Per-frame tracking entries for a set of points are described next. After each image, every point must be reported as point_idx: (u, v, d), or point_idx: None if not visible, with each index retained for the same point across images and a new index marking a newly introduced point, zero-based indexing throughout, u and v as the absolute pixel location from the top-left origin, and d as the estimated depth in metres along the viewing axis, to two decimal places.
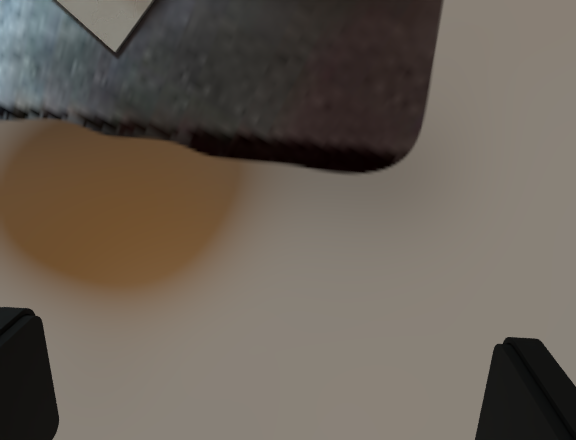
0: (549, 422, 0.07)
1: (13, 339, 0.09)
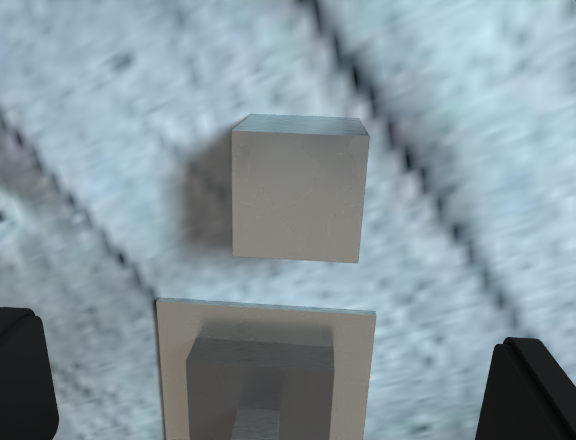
0: (549, 422, 0.07)
1: (13, 339, 0.09)
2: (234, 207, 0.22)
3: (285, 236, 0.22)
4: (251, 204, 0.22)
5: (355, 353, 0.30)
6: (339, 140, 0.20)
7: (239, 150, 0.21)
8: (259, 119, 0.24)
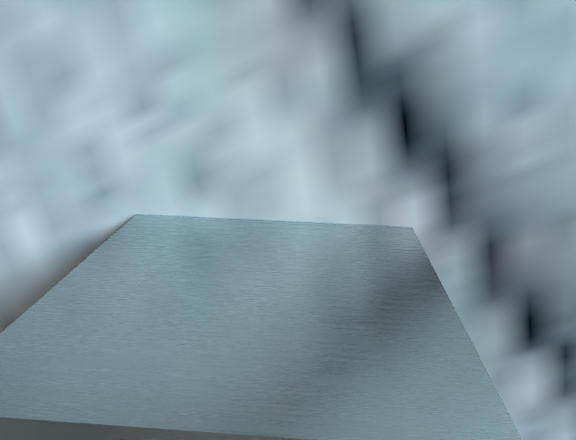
0: None
1: None
2: None
3: None
4: None
5: None
6: None
7: None
8: (131, 256, 0.08)
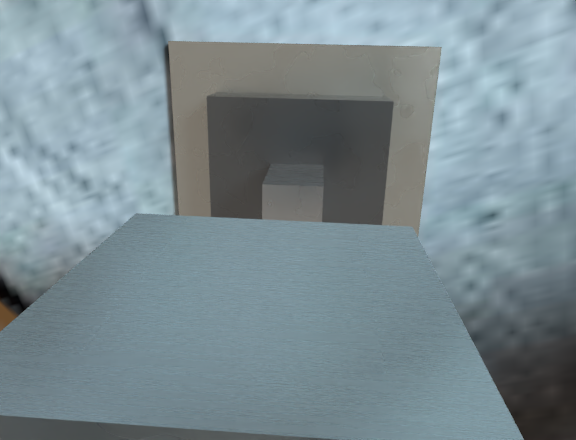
0: None
1: None
2: None
3: None
4: None
5: (413, 104, 0.25)
6: None
7: None
8: (131, 255, 0.08)
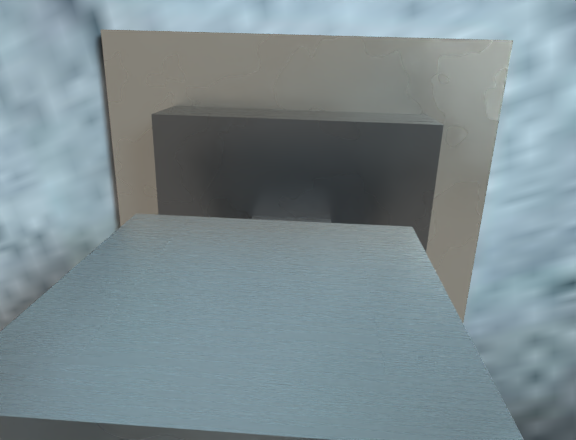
0: None
1: None
2: None
3: None
4: None
5: (466, 126, 0.17)
6: None
7: None
8: (131, 255, 0.08)
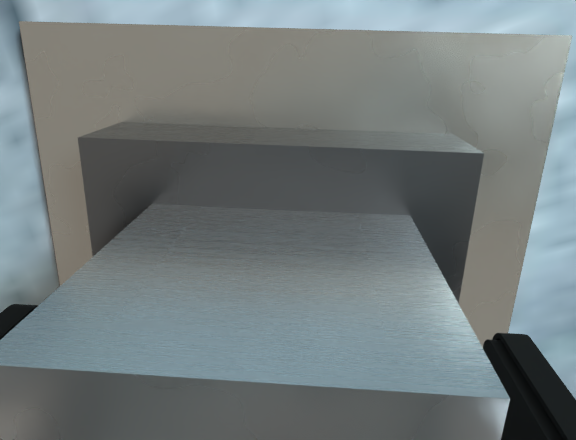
0: (534, 415, 0.07)
1: None
2: None
3: None
4: None
5: (505, 149, 0.12)
6: (388, 408, 0.05)
7: (16, 425, 0.06)
8: (151, 240, 0.09)
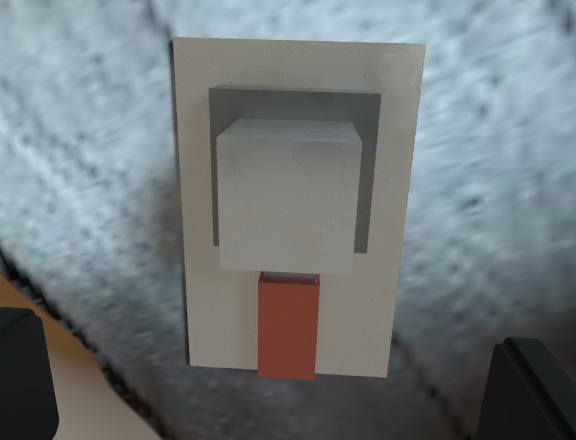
0: (549, 422, 0.07)
1: (13, 339, 0.09)
2: (220, 218, 0.21)
3: (274, 248, 0.21)
4: (239, 214, 0.20)
5: (400, 97, 0.27)
6: (330, 147, 0.19)
7: (225, 158, 0.20)
8: (247, 124, 0.23)
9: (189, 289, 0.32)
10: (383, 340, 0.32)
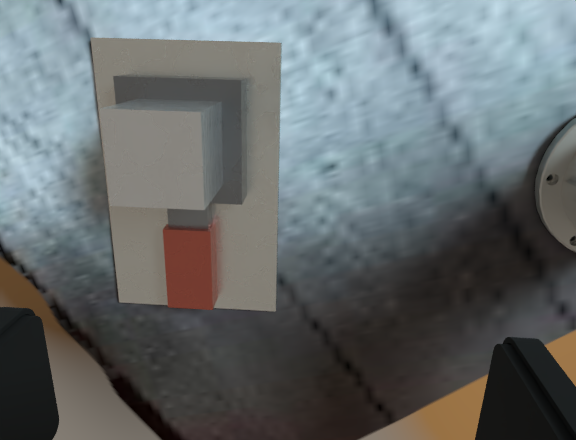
0: (549, 422, 0.07)
1: (13, 339, 0.09)
2: (107, 167, 0.29)
3: (147, 189, 0.29)
4: (120, 164, 0.29)
5: (265, 83, 0.35)
6: (179, 115, 0.27)
7: (107, 123, 0.28)
8: (136, 102, 0.31)
9: (114, 238, 0.40)
10: (270, 280, 0.40)
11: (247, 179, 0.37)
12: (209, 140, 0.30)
